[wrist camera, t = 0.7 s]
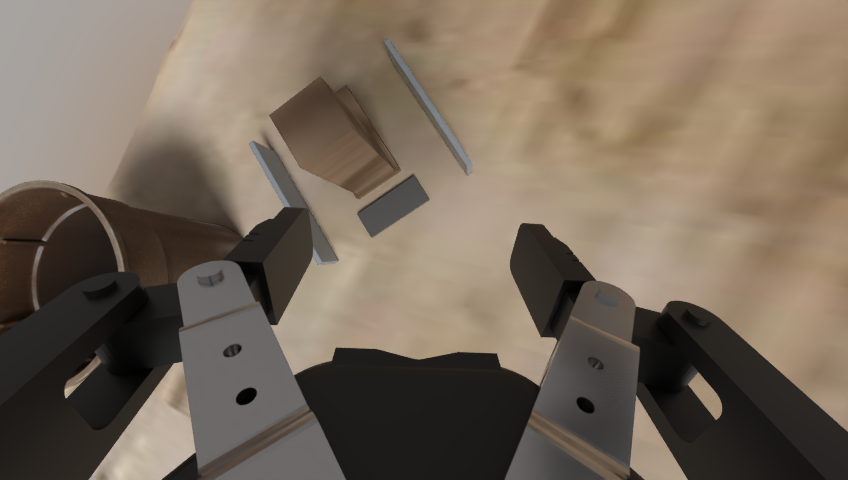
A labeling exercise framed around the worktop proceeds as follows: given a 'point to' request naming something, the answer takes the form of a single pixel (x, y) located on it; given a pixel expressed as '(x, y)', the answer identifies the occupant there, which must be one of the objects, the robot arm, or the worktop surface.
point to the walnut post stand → (334, 138)
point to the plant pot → (90, 247)
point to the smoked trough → (387, 206)
